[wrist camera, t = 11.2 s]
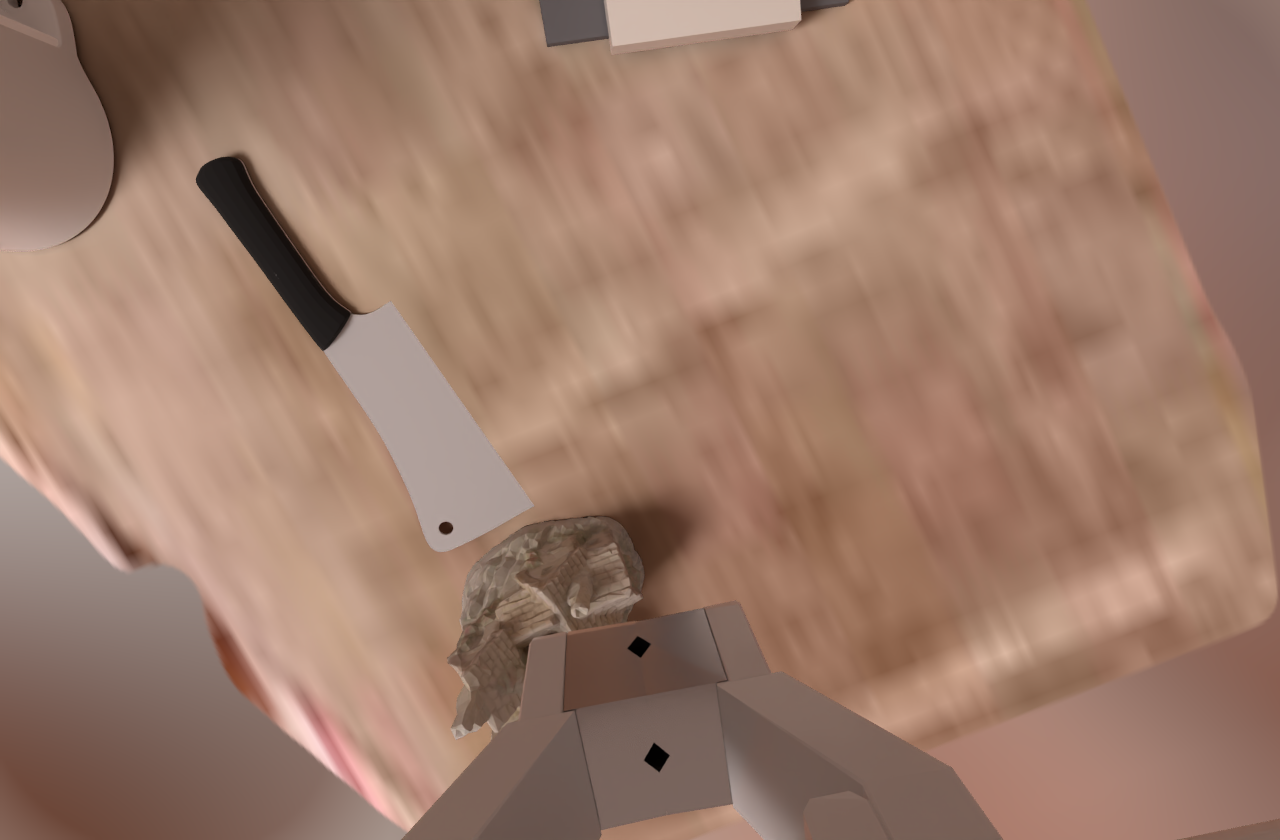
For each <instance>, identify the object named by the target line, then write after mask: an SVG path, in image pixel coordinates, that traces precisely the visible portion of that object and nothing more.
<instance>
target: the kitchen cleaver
mask: <svg viewBox="0 0 1280 840" xmlns="http://www.w3.org/2000/svg"><path fill="white" fill-rule="evenodd" d="M196 183H197V185H198V187H199V188H200V190H201V191H202V192H203V193H204V195H205V196H206V197H207V198H208V199H209V201H210V202H211V203H212V204H213V205H214V207H215V208H216V209H217V211H218V212H219V213H220V215H221V216H222V217H223V219H224V220H225V221H226V223H227V224H228V225H229V227H230V228H231V229H232V231H233V232H234V233H235V235H236V236H237V237H238V239H239V240H240V241H241V243H242V244H243V245H244V247H245V248H246V249H247V251H248V252H249V253H250V255H251V256H252V257H253V259H254V260H255V261H256V263H257V264H258V265H259V267H260V268H261V270H262V271H263V272H264V274H265V275H266V276H267V278H268V279H269V281H270V282H271V283H272V285H273V286H274V287H275V289H276V290H277V292H278V293H279V294H280V296H281V297H282V299H283V300H284V301H285V303H286V304H287V305H288V307H289V308H290V309H291V311H292V312H293V314H294V315H295V316H296V318H297V319H298V320H299V322H300V323H301V324H302V326H303V327H304V328H305V330H306V331H307V332H308V333H309V335H310V336H311V337H312V339H313V340H314V341H315V342H316V344H317V345H318V346H319V347H320V349H321V350H323V351H324V352H325V354H326V356H327V357H328V359H329V360H330V361H331V363H332V364H333V366H334V367H335V369H336V370H337V372H338V373H339V375H340V376H341V377H342V379H343V380H344V382H345V383H346V385H347V386H348V388H349V389H350V390H351V392H352V393H353V395H354V396H355V398H356V399H357V401H358V402H359V404H360V405H361V406H362V408H363V409H364V411H365V412H366V414H367V415H368V417H369V418H370V420H371V422H372V423H373V425H374V426H375V428H376V429H377V431H378V433H379V434H380V436H381V438H382V439H383V441H384V443H385V445H386V447H387V449H388V450H389V452H390V454H391V456H392V458H393V460H394V462H395V464H396V466H397V468H398V470H399V472H400V474H401V476H402V479H403V481H404V483H405V485H406V487H407V489H408V492H409V494H410V496H411V499H412V501H413V504H414V507H415V510H416V512H417V515H418V518H419V521H420V524H421V527H422V530H423V533H424V536H425V538H426V541H427V543H428V544H429V546H430V547H431V548H432V549H433V550H435V551H438V552H445V551H449V550H452V549H454V548H456V547H459V546H461V545H463V544H465V543H467V542H469V541H471V540H473V539H475V538H477V537H479V536H481V535H483V534H485V533H487V532H489V531H490V530H492V529H494V528H496V527H498V526H500V525H501V524H503V523H505V522H506V521H508V520H510V519H512V518H513V517H515V516H517V515H519V514H520V513H522V512H524V511H526V510H528V509H530V508H531V507H533V506H534V505H533V503H532V502H531V500H530V499H529V498H528V496H527V495H526V493H525V492H524V490H523V489H522V488H521V486H520V485H519V483H518V482H517V480H516V479H515V478H514V476H513V475H512V473H511V472H510V470H509V469H508V468H507V466H506V465H505V463H504V462H503V460H502V459H501V458H500V456H499V455H498V453H497V452H496V450H495V449H494V448H493V446H492V445H491V443H490V442H489V440H488V439H487V438H486V436H485V435H484V433H483V432H482V430H481V429H480V428H479V426H478V425H477V423H476V422H475V420H474V419H473V418H472V416H471V415H470V413H469V412H468V410H467V409H466V408H465V406H464V405H463V403H462V402H461V400H460V399H459V398H458V396H457V395H456V393H455V392H454V390H453V389H452V388H451V386H450V385H449V383H448V382H447V380H446V379H445V378H444V376H443V375H442V373H441V372H440V370H439V369H438V368H437V366H436V365H435V363H434V362H433V360H432V359H431V358H430V356H429V355H428V353H427V352H426V350H425V349H424V348H423V346H422V345H421V343H420V342H419V340H418V339H417V338H416V336H415V335H414V333H413V332H412V330H411V329H410V328H409V326H408V325H407V323H406V322H405V320H404V319H403V318H402V316H401V315H400V313H399V312H398V310H397V309H396V308H395V306H394V305H393V303H392V302H391V301H390V302H388V303H387V304H385V305H384V306H382V307H381V308H379V309H377V310H376V311H374V312H371V313H369V314H365V315H356V314H352V313H351V311H350V310H348V309H347V308H345V307H344V306H342V305H341V304H340V303H338V302H337V301H336V300H335V299H334V298H333V297H332V296H331V295H330V294H329V293H328V292H327V291H326V289H325V288H324V287H323V286H322V284H321V283H320V282H319V280H318V279H317V278H316V276H315V275H314V273H313V272H312V271H311V269H310V268H309V266H308V265H307V263H306V262H305V261H304V259H303V258H302V256H301V255H300V253H299V252H298V251H297V249H296V248H295V246H294V245H293V243H292V242H291V241H290V239H289V238H288V236H287V235H286V233H285V232H284V230H283V229H282V227H281V226H280V225H279V223H278V222H277V220H276V219H275V217H274V216H273V214H272V213H271V211H270V210H269V208H268V207H267V205H266V204H265V202H264V201H263V199H262V198H261V196H260V195H259V193H258V192H257V190H256V188H255V187H254V185H253V183H252V181H251V179H250V176H249V174H248V172H247V169H246V167H245V165H244V163H243V162H242V161H241V160H240V159H237V158H233V157H221V158H217V159H214V160H212V161H210V162H208V163H206V164H205V165H204V166H202V167H201V169H200V171H199V173H198V175H197V177H196ZM442 522H450V523H451V524H452V525H453V531H452V532H451V533H448V534H444V533H442V532H441V531H440V530H439V525H440V524H441V523H442Z"/></svg>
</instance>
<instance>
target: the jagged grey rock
mask: <svg viewBox="0 0 1280 840" xmlns="http://www.w3.org/2000/svg"><path fill="white" fill-rule="evenodd" d="M643 581H644V567H643V565H642V559H640V556H639V555H638V553H637V552H636V551H635V550H634V546H633V543H632V541H631V538H629V535H628V533H627V531H626V530H625V529H624V527H623V526H622V525H621V524H620V523H618V522H617V521H615V520H613V519H611V518H609V517H603V516H597V517H596V518H594V517H591V516H588V518H571V519H567V520H558V521H554V520H552V521H549V522H547V521H546V522H545V521H544V522H541V523H538V524H532V525H529V526H525V527H523V528H522V529H520V530H518V532H515V533H514V534H512V535H510V536H509V538H507V539H506V540H505V541H503V543H500V544H498V545H497V546H495V547H493V548H492V549H491V550H490V551H489V552H488V553H486V554H485V555H484V556H483V558H481V559H480V560H479V562H476V563H475V565H474V566H473V567H472V569H471V570H470V572H469V574H468V575H467V579H466V582H465V587H464V591H463V598H462V614H461V618H460V620H459V621H460V624H461V627H462V630H463V632H462V634H461V637H460V639H459V641H458V643H457V649H456V650H455V651H454V652H453V653H452V654H451V655H450V656H449V657H448V658H447V659H448V664H449V665H451V666H452V667H453V668H454V669H455V670H456V671H457V672H458V674H459V675H460V677H461V680H462V681H463V683H464V686H463V688H462V690H461V692H460V694H459V695H458V697H457V704H456V710H457V716H456V718H455V720H454V723H453V725H452V727H451V731H452V733H453V735H454V737H455V739H456V740H457V739H459V738H461V737H464V736H465V735H467V734H468V733H471V732H476V731H477V730H479V729H480V728H481V727H482V725H483V724H484V723H485V722H487V723H488V724H489V726H490V727H491V729H492V735H491V741H492V740H493V738H494V737H495V736H496V735H497V734H498V733H499V732H500V731H501V730H502V729H503V727H504V726H505V725H506V724H507V723H511V722H516V721H518V719H519V712H520V705H521V698H522V692H523V685H524V678H525V671H526V664H527V658H528V651H529V644H530V643H531V641H532V639H533V638H535V637H541V636H546V635H551V634H557V633H562V632H566V633H568V632H569V631H575V630H581V629H587V628H593V627H600V626H606V625H612V624H618V623H624V622H627V619H628V615H629V613H630V612H631V611H632V608H633V604H634V603H636V602H638V601H639V600H641V599H642V598H643V595H642V592H641V591H642V585H643Z"/></svg>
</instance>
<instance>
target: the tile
mask: <svg viewBox="0 0 1280 840" xmlns="http://www.w3.org/2000/svg"><path fill="white" fill-rule="evenodd" d="M604 6H605V13H606V20H607V27H608V34H609V41H610V48H611V55H616V54H623V53H630V52H637V51H645V50H652V49H659V48H666V47H673V46H680V45H687V44H694V43H702V42H709V41H716V40H723V39H730V38H737V37H744V36H751V35H758V34H766V33H773V32H780V31H787V30H793V29H794V27H795V26H796V25H797V24H798V23H799V22H800V21H801V7H800V0H604Z"/></svg>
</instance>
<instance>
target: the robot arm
mask: <svg viewBox="0 0 1280 840" xmlns="http://www.w3.org/2000/svg"><path fill="white" fill-rule="evenodd" d="M17 1H18V0H0V251H13V252H26V251H36V250H42V249H46V248H50V247H53V246H56V245H59V244H61V243H63V242H66V241H68V240H69V239H71V238H73V237H74V236H76V235H77V234H79V233H80V232H81V231H83V230H84V229H85V228H86V227H87V226H88V225H89V224H90V223H91V222H92V221H93V220H94V218H95V217H96V216H97V214H98V213H99V211H100V210H101V208H102V206H103V204H104V202H105V200H106V198H107V195H108V192H109V189H110V186H111V182H112V176H113V167H114V152H113V142H112V136H111V131H110V127H109V124H108V120H107V117H106V114H105V111H104V109H103V107H102V104H101V102H100V100H99V98H98V96H97V94H96V92H95V90H94V88H93V87H92V85H91V83H90V81H89V79H88V78H87V76H86V74H85V72H84V70H83V68H82V66H81V64H80V62H79V59H78V57H77V51H76V45H75V39H74V33H73V28H72V23H71V20H70V16H69V14H68V11H67V9H66V7H65V6H64V4H63V3H62V2H61V1H60V0H23V3H22V6H21V7H19V6H18V3H17ZM730 804H733V808H734V809H735V810H736V811H737V812H738V813H739V814H740V815H741V816H742V817H743V818H744V819H745V820H746V821H747V822H748V823H749V824H750V825H751V826H752V827H753V828H754V830H756V831H757V833H758V834H759V835H760V836H761V837H762V838H763V839H764V840H1003V839H1002V837H1001V836H1000V834H999V833H998V832H997V830H996V829H995V827H994V826H993V825H992V823H991V822H990V821H989V819H988V818H987V816H986V815H985V813H984V812H983V811H982V809H981V808H980V806H979V805H978V803H977V802H976V801H975V799H974V798H973V796H972V795H971V794H970V792H969V791H968V789H967V788H966V787H965V785H964V784H963V782H962V781H961V780H960V778H959V777H958V775H957V774H956V773H955V771H954V770H953V768H951V767H950V766H948V765H946V764H944V763H943V762H941V761H939V760H937V759H936V758H934V757H932V756H930V755H929V754H927V753H925V752H923V751H922V750H920V749H918V748H916V747H914V746H913V745H911V744H909V743H907V742H906V741H904V740H902V739H900V738H899V737H897V736H895V735H893V734H892V733H890V732H888V731H886V730H884V729H883V728H881V727H879V726H877V725H876V724H874V723H872V722H870V721H869V720H867V719H865V718H863V717H862V716H860V715H858V714H856V713H854V712H853V711H851V710H849V709H847V708H846V707H844V706H842V705H840V704H839V703H837V702H835V701H833V700H832V699H830V698H828V697H826V696H824V695H823V694H821V693H819V692H817V691H816V690H814V689H812V688H810V687H809V686H807V685H805V684H803V683H802V682H800V681H798V680H796V679H794V678H793V677H791V676H789V675H787V674H786V673H784V672H776V673H771V671H770V669H769V667H768V664H767V662H766V660H765V658H764V656H763V653H762V651H761V649H760V647H759V644H758V642H757V640H756V638H755V635H754V633H753V631H752V629H751V626H750V624H749V622H748V620H747V618H746V615H745V613H744V611H743V609H742V606H741V604H740V603H739V602H738V601H736V600H735V601H730V602H726V603H721V604H717V605H712V606H707V607H703V608H701V609H696V610H691V611H686V612H681V613H676V614H671V615H666V616H661V617H657V618H652V619H647V620H642V621H637V622H636V621H631V622H624V623H618V624H612V625H606V626H600V627H593V628H587V629H581V630H575V631H569V632H568V633H566V632H562V633H557V634H551V635H546V636H541V637H535V638H533V639H532V641H531V643H530V644H529V651H528V658H527V664H526V671H525V678H524V685H523V692H522V698H521V705H520V712H519V719H518V721H516V722H511V723H507V724H506V725H505V726H504V727H503V729H502V730H501V731H500V732H499V733H498V734H497V735H496V736H495V737H494V738H493V740H492V741H491V742H490V743H489V744H488V745H487V746H486V747H485V748H484V749H483V750H482V752H481V753H480V754H479V755H478V756H477V757H476V758H475V759H474V760H473V761H472V763H471V764H470V765H469V766H468V767H467V768H466V769H465V770H464V771H463V772H462V774H461V775H460V776H459V777H458V778H457V779H456V780H455V781H454V782H453V783H452V785H451V786H450V787H449V788H448V789H447V790H446V791H445V792H444V793H443V794H442V796H441V797H440V798H439V799H438V800H437V801H436V802H435V803H434V804H433V805H432V807H431V808H430V809H429V810H428V811H427V812H426V813H425V814H424V815H423V816H422V818H421V819H420V820H419V821H418V822H417V823H416V824H415V825H414V826H413V827H412V829H411V830H410V831H409V832H408V833H407V834H406V835H405V836H404V837H403V838H402V840H599V839H600V837H601V835H602V834H601V830H604V829H608V828H612V827H617V826H621V825H625V824H630V823H634V822H638V821H643V820H647V819H652V818H656V817H660V816H665V815H670V814H676V813H682V812H688V811H694V810H700V809H706V808H712V807H718V806H724V805H730ZM666 812H667V813H666ZM1179 840H1280V819H1275V820H1270V821H1265V822H1261V823H1256V824H1251V825H1246V826H1241V827H1237V828H1231V829H1227V830H1222V831H1217V832H1212V833H1208V834H1203V835H1198V836H1193V837H1189V838H1184V839H1179Z"/></svg>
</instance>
